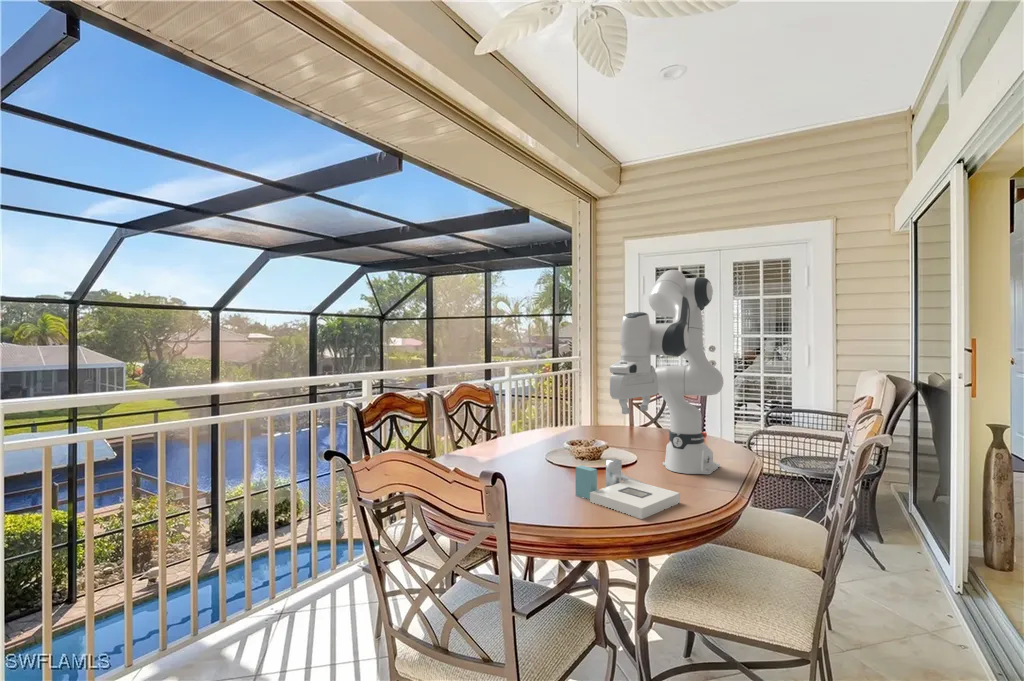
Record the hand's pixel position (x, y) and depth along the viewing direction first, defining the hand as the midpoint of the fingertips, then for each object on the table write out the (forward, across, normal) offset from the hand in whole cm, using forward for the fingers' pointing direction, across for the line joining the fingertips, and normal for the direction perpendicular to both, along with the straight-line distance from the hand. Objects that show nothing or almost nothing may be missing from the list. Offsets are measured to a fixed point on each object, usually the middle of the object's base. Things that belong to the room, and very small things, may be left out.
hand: (635, 412), depth 144 cm
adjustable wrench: (+28, -16, -13) cm, 34 cm away
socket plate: (+27, 0, 0) cm, 27 cm away
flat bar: (+27, +7, -13) cm, 31 cm away
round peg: (+27, -7, -13) cm, 31 cm away
